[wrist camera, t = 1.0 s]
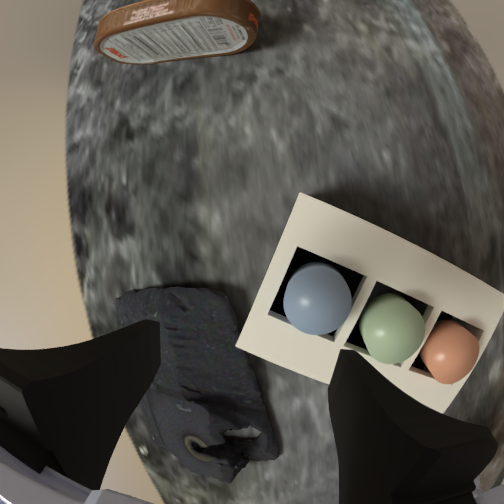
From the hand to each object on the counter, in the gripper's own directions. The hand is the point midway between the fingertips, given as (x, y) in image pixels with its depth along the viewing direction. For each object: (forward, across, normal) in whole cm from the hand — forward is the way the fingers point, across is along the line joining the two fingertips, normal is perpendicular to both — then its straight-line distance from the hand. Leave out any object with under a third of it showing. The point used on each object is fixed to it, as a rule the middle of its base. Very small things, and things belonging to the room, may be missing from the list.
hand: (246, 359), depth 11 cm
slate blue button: (+9, -4, 0) cm, 10 cm away
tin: (+17, +10, -19) cm, 27 cm away
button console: (+12, -9, +2) cm, 16 cm away
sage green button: (+8, -9, +1) cm, 12 cm away
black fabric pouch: (+14, +5, +14) cm, 20 cm away
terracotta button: (+8, -14, +3) cm, 16 cm away
